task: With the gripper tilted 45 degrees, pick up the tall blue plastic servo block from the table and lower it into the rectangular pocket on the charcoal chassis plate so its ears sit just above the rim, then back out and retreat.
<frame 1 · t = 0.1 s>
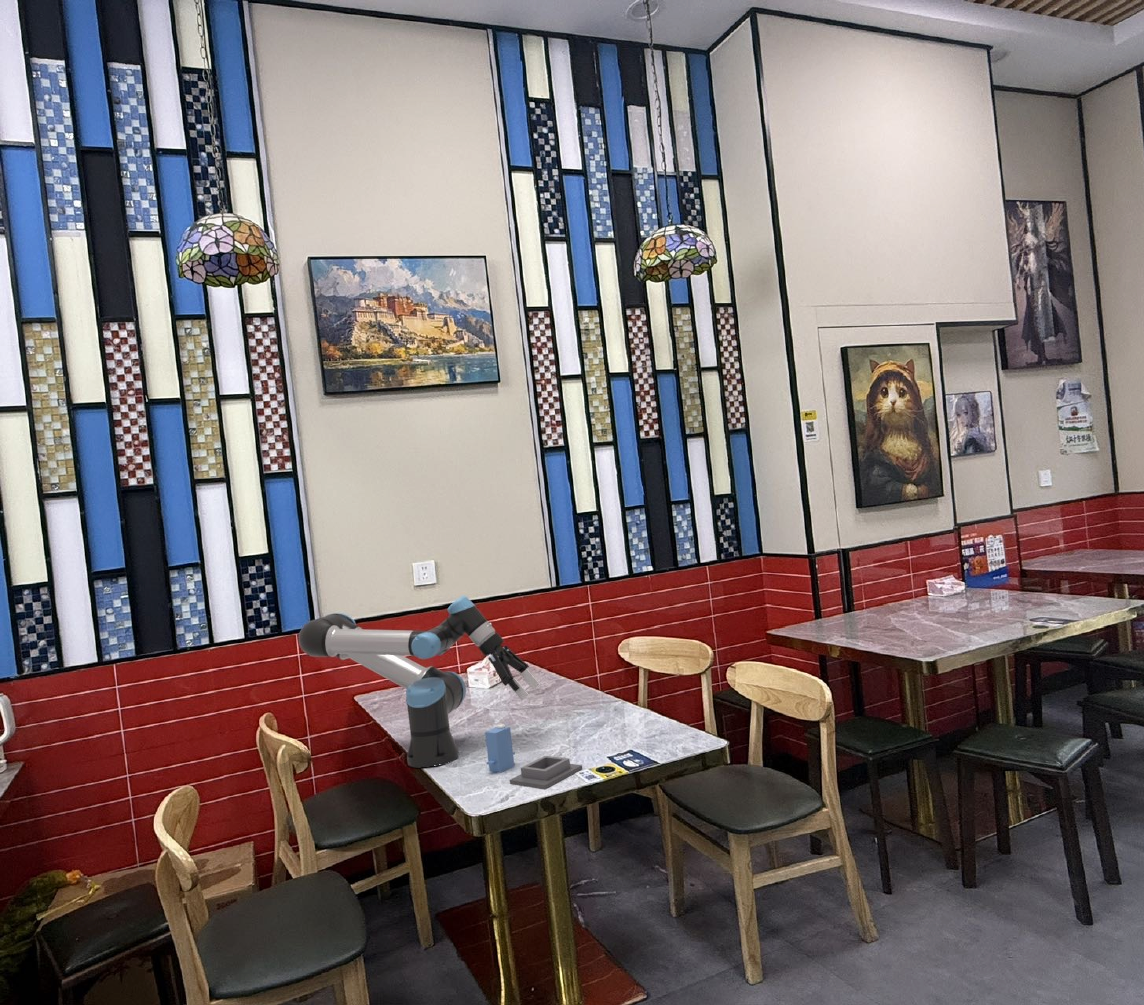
hand: (531, 692, 255), 15 cm above the table, tool tilted 35°, fingers open, 13 cm apart
chassis: (546, 776, 221), on the table
servo: (502, 768, 232), on the table
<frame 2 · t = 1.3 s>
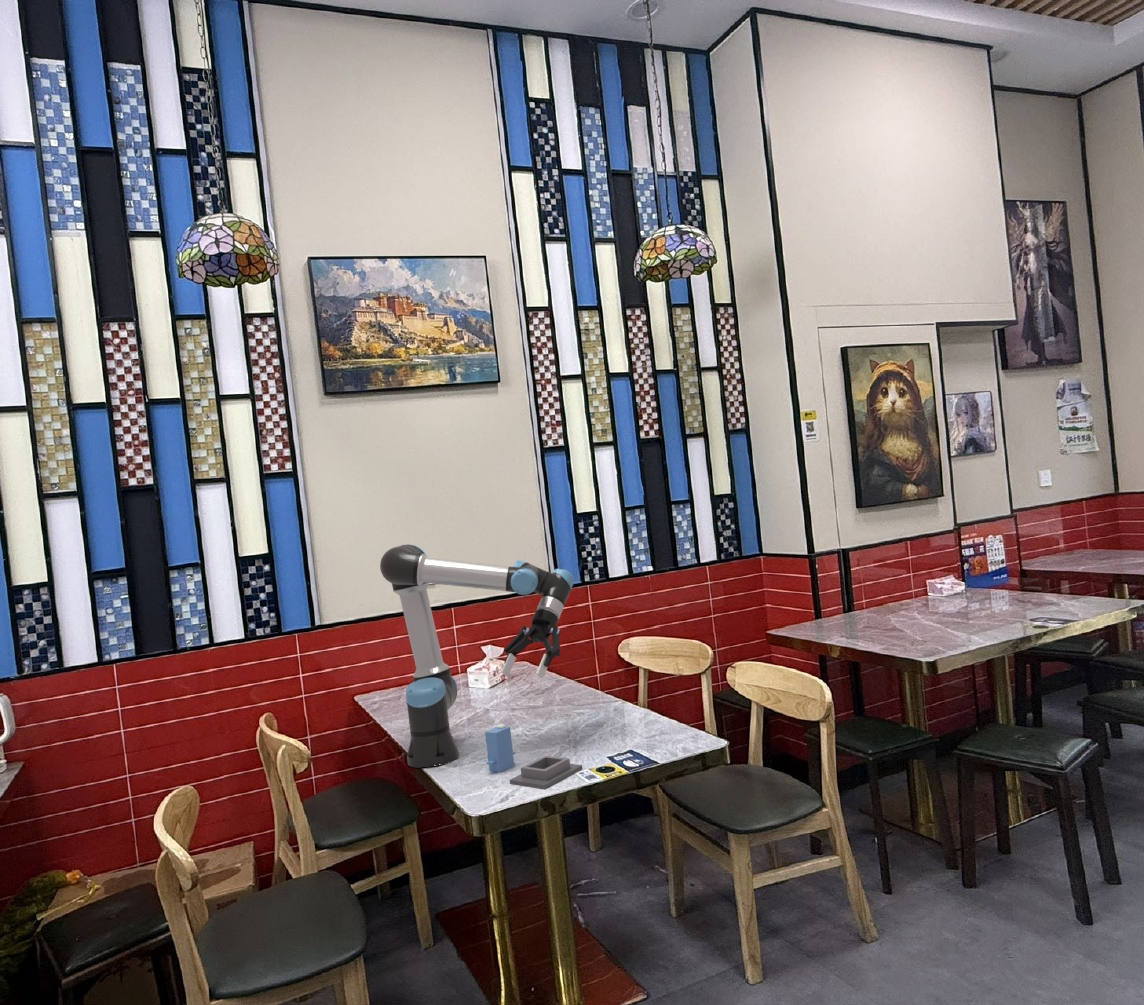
hand: (521, 675, 243), 23 cm above the table, tool tilted 45°, fingers open, 13 cm apart
nothing on the table moved.
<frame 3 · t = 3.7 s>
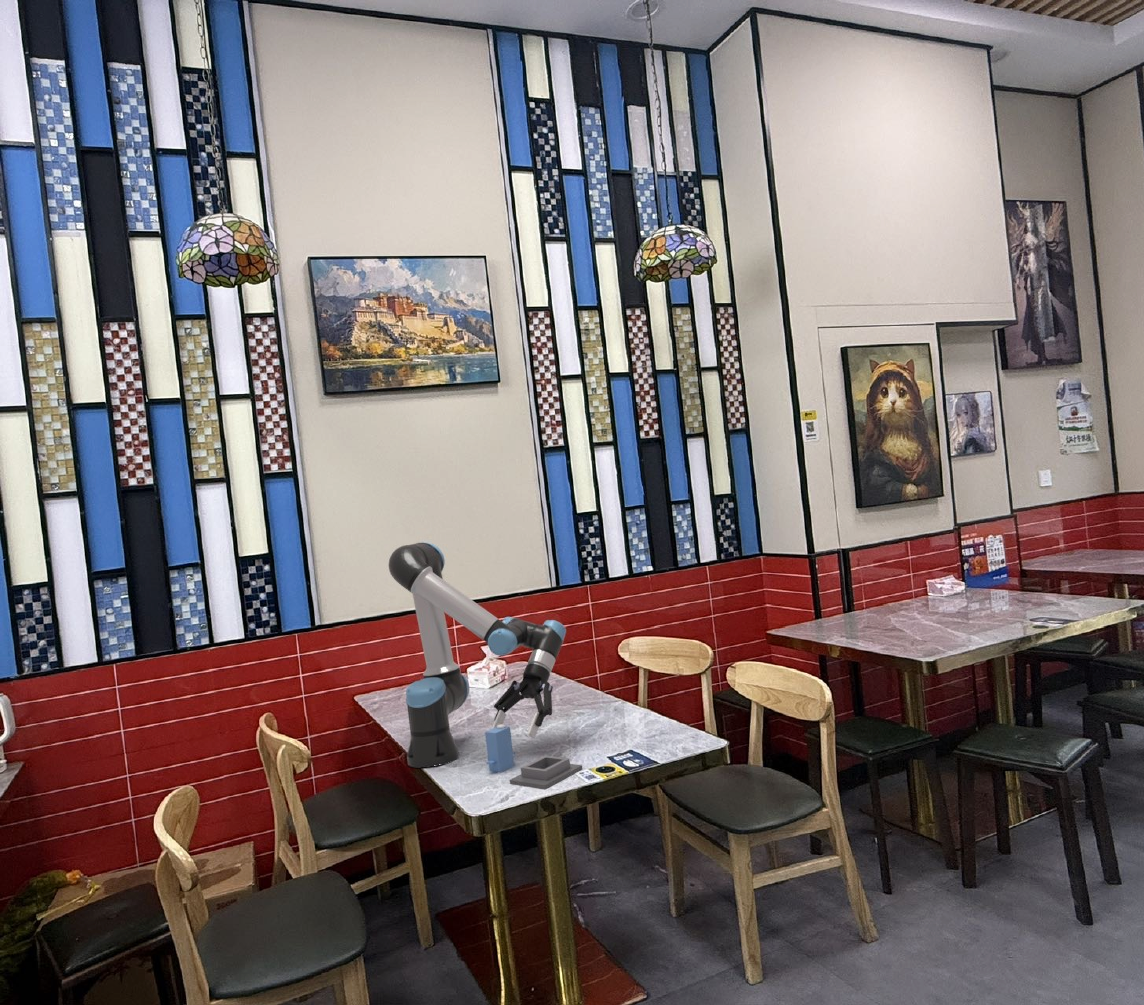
hand: (512, 734, 235), 8 cm above the table, tool tilted 45°, fingers open, 13 cm apart
nothing on the table moved.
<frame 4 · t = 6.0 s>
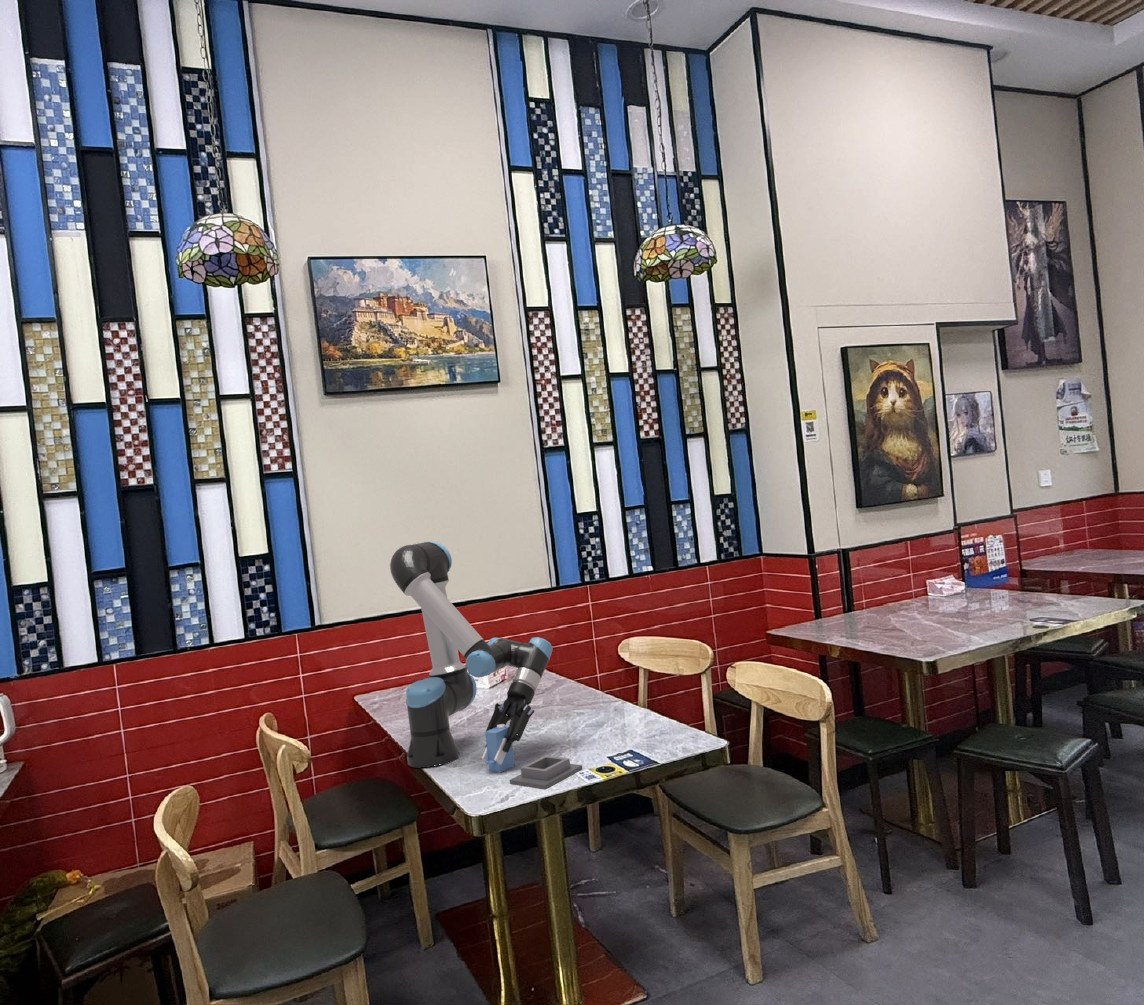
hand: (491, 761, 229), 3 cm above the table, tool tilted 45°, fingers closed on servo, 4 cm apart
servo: (502, 768, 232), on the table, touching gripper
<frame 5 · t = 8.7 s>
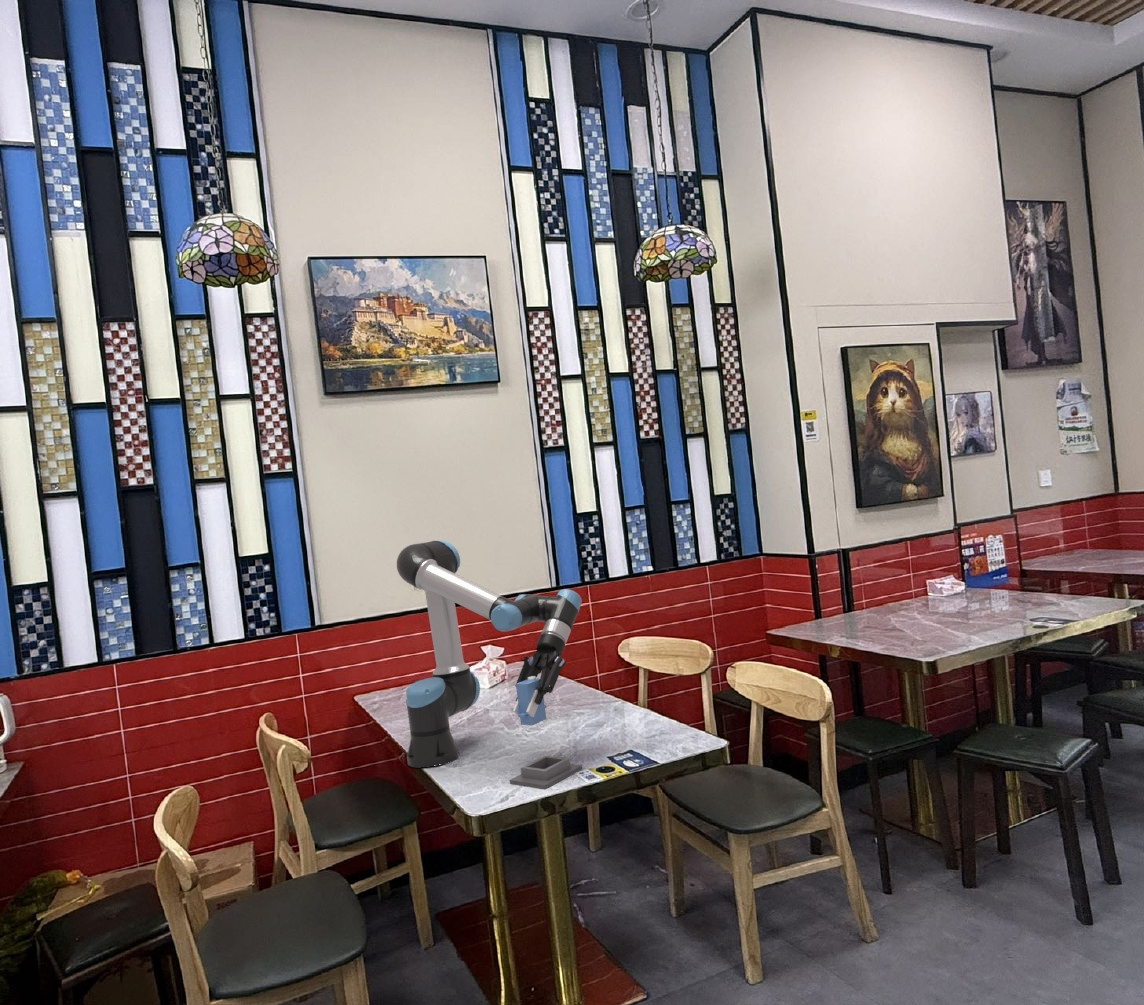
hand: (523, 713, 221), 17 cm above the table, tool tilted 45°, fingers closed on servo, 4 cm apart
servo: (533, 721, 224), point 14 cm above the table, touching gripper
when the fingers open (6 cm above the table, at t = 11.7 s): servo drops 1 cm, resting on chassis.
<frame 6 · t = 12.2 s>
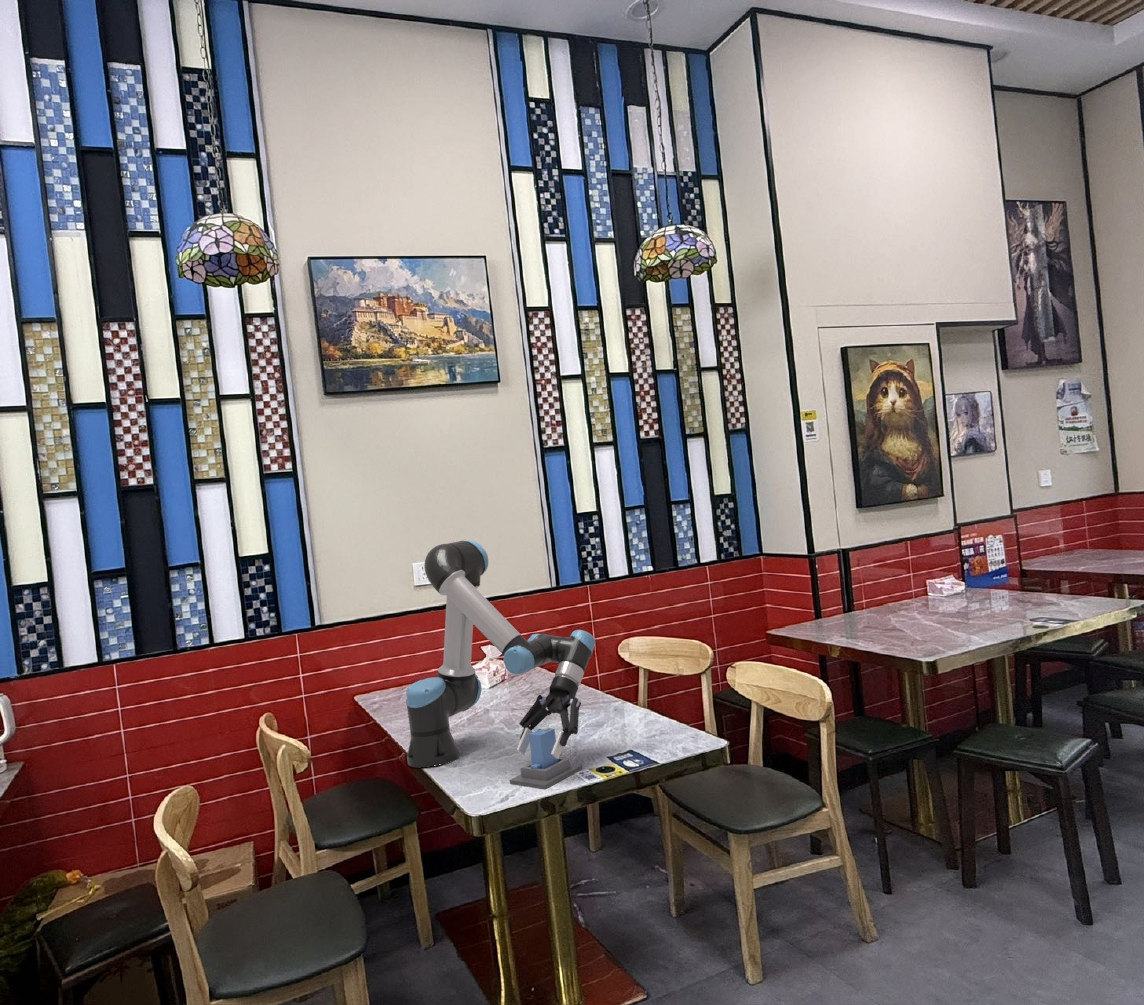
hand: (537, 754, 219), 7 cm above the table, tool tilted 45°, fingers open, 11 cm apart
servo: (546, 772, 221), point 1 cm above the table, touching chassis
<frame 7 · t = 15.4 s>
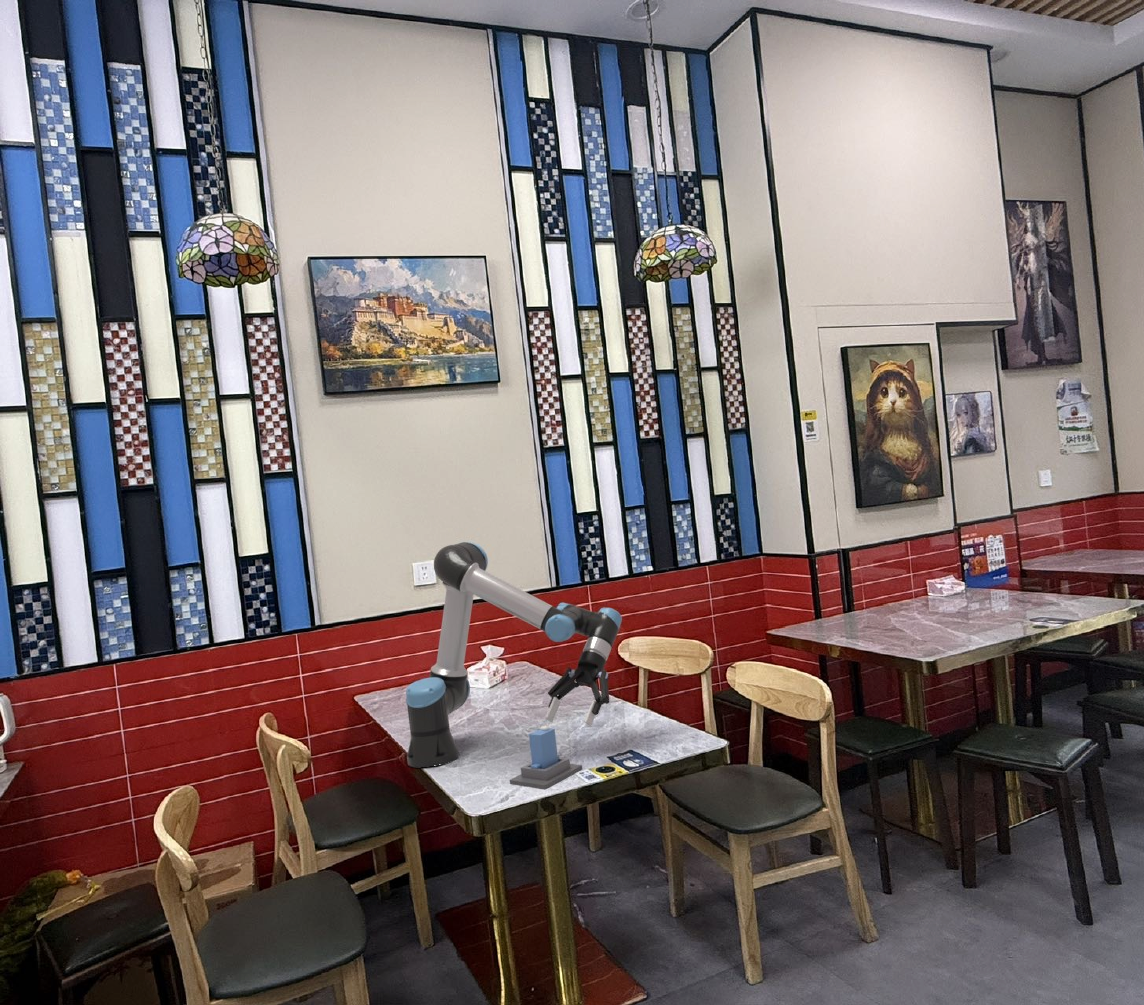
hand: (567, 722, 230), 11 cm above the table, tool tilted 45°, fingers open, 13 cm apart
nothing on the table moved.
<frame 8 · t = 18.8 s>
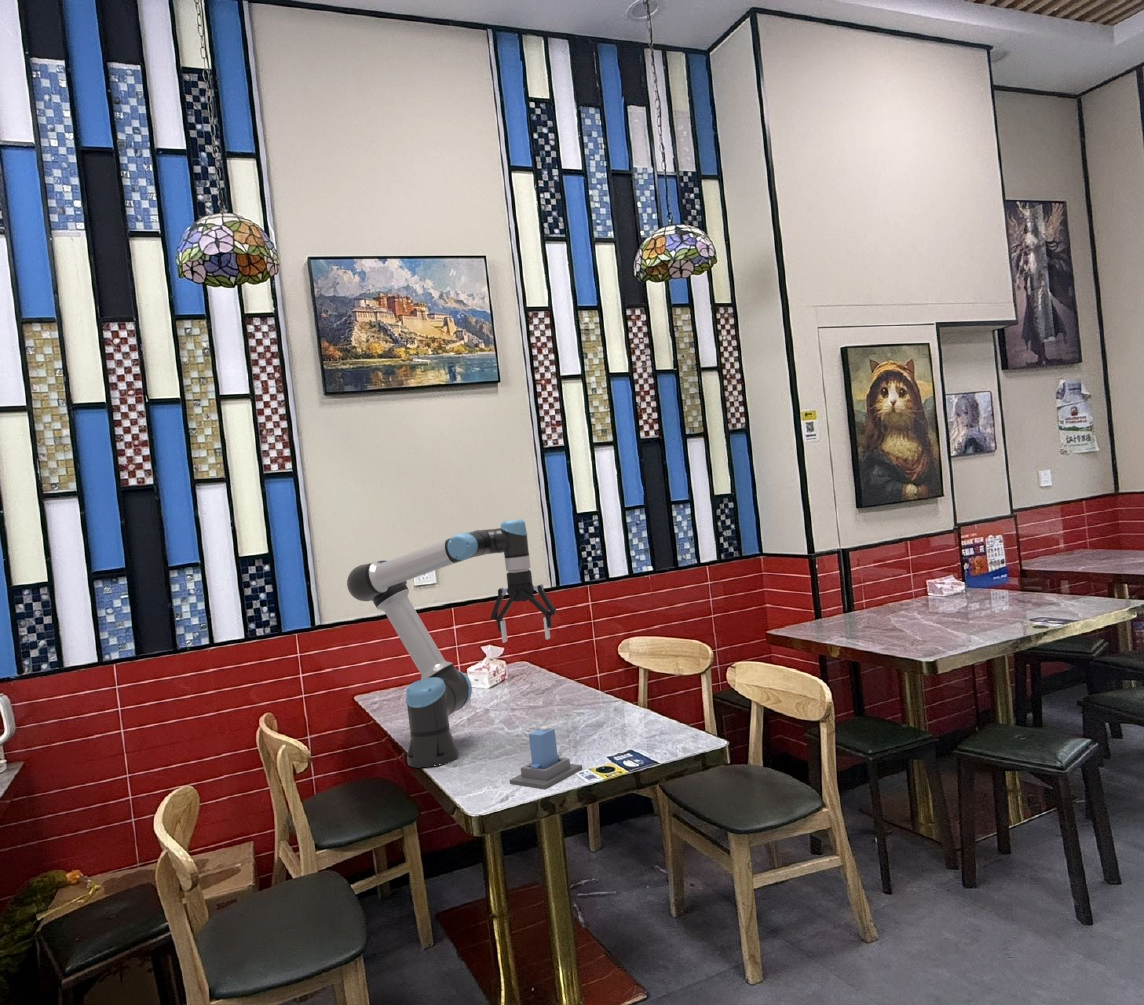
hand: (526, 640, 252), 32 cm above the table, tool pointing down, fingers open, 13 cm apart
nothing on the table moved.
at the end: servo 0.1 cm from the chassis (horizontally); servo 0.1 cm off-centre on the chassis, point 1.0 cm above the chassis's base; servo tilted 0° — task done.
